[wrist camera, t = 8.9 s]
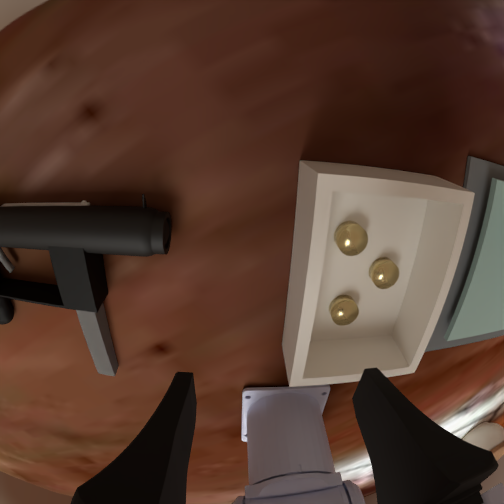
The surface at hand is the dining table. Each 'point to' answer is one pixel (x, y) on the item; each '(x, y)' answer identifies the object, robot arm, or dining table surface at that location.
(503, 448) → the lidded jar
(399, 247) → the tub
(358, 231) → the set of gold balls
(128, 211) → the black toy gun
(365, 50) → the dining table surface
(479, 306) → the lid
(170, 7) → the dining table surface
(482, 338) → the mat
